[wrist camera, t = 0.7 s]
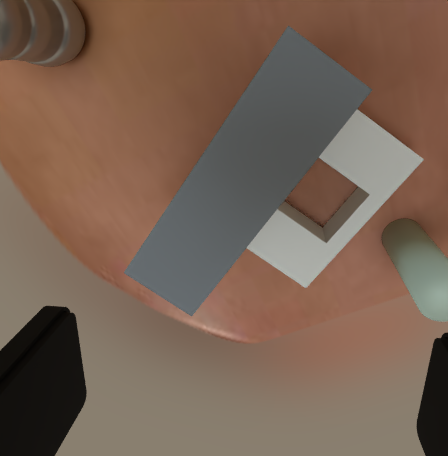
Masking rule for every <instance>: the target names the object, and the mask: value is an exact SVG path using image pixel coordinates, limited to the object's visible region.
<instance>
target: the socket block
mask: <svg viewBox="0 0 448 456" xmlns="http://www.w3.org/2000/svg"><path fill="white" fill-rule="evenodd" d="M371 91H372V89H370V88H369V87H368V86H367V85H365V84H364V83H363V82H361V81H360V80H359V79H357V78H356V77H355V76H353V75H352V74H351V73H350V72H348V71H347V70H346V69H344V68H343V67H342V66H340V65H339V64H338V63H337V62H335V61H334V60H333V59H331V58H330V57H329V56H327V55H326V54H325V53H323V52H322V51H321V50H320V49H318V48H317V47H316V46H314V45H313V44H312V43H310V42H309V41H308V40H306V39H305V38H304V37H303V36H301V35H300V34H299V33H297V32H296V31H295V30H293V29H292V28H291V27H289V26H288V27H287V28H286V30H285V31H284V33H283V34H282V36H281V37H280V39H279V40H278V42H277V43H276V45H275V46H274V48H273V49H272V51H271V52H270V54H269V55H268V57H267V58H266V60H265V61H264V63H263V64H262V66H261V67H260V69H259V70H258V72H257V73H256V75H255V76H254V78H253V79H252V81H251V82H250V84H249V85H248V87H247V88H246V90H245V91H244V93H243V94H242V96H241V97H240V99H239V100H238V102H237V103H236V105H235V106H234V108H233V109H232V111H231V112H230V114H229V115H228V117H227V118H226V120H225V121H224V123H223V124H222V126H221V127H220V129H219V130H218V132H217V133H216V135H215V136H214V138H213V139H212V141H211V143H210V144H209V146H208V147H207V149H206V150H205V152H204V153H203V155H202V156H201V158H200V159H199V161H198V162H197V164H196V165H195V167H194V168H193V170H192V171H191V173H190V174H189V176H188V177H187V179H186V180H185V182H184V183H183V185H182V186H181V188H180V189H179V191H178V192H177V194H176V195H175V197H174V198H173V200H172V201H171V203H170V204H169V206H168V207H167V209H166V210H165V212H164V213H163V215H162V216H161V218H160V219H159V221H158V222H157V224H156V225H155V227H154V228H153V230H152V231H151V233H150V234H149V236H148V237H147V239H146V240H145V242H144V243H143V245H142V246H141V248H140V249H139V251H138V252H137V254H136V255H135V257H134V258H133V260H132V261H131V263H130V264H129V266H128V267H127V269H126V270H125V272H124V273H125V274H126V275H128V276H130V277H131V278H133V279H134V280H136V281H137V282H139V283H140V284H142V285H144V286H145V287H147V288H148V289H150V290H151V291H153V292H154V293H156V294H158V295H159V296H161V297H162V298H164V299H165V300H167V301H168V302H170V303H172V304H173V305H175V306H176V307H178V308H179V309H181V310H182V311H184V312H186V313H187V314H189V315H190V316H192V315H193V314H194V313H195V312H196V310H197V309H198V308H199V307H200V305H201V304H202V303H203V302H204V300H205V299H206V298H207V297H208V295H209V294H210V293H211V292H212V290H213V289H214V288H215V287H216V285H217V284H218V283H219V282H220V280H221V279H222V278H223V277H224V275H225V274H226V273H227V272H228V270H229V269H230V268H231V267H232V265H233V264H234V263H235V262H236V260H237V259H238V258H239V256H240V255H241V254H242V253H243V251H244V250H245V249H246V248H247V249H249V250H250V251H252V252H253V253H255V254H256V255H258V256H259V257H261V258H262V259H264V260H265V261H267V262H268V263H269V264H271V265H272V266H274V267H275V268H277V269H278V270H280V271H281V272H283V273H284V274H286V275H287V276H289V277H290V278H292V279H293V280H295V281H296V282H298V283H299V284H300V285H302V286H303V287H305V288H306V287H307V286H308V285H309V284H310V283H311V282H312V281H313V280H314V279H315V278H316V277H317V275H318V274H319V273H320V272H321V271H322V270H323V269H324V268H325V267H326V266H327V265H328V263H329V262H330V261H331V260H332V259H333V258H334V257H335V256H336V255H337V254H338V253H339V252H340V250H341V249H342V248H343V247H344V246H345V245H346V244H347V243H348V242H349V241H350V240H351V238H352V237H353V236H354V235H355V234H356V233H357V232H358V231H359V230H360V229H361V228H362V226H363V225H364V224H365V223H366V222H367V221H368V220H369V219H370V218H371V217H372V216H373V214H374V213H375V212H376V211H377V210H378V209H379V208H380V207H381V206H382V205H383V204H384V202H385V201H386V200H387V199H388V198H389V197H390V196H391V195H392V194H393V193H394V192H395V190H396V189H397V188H398V187H399V186H400V185H401V184H402V183H403V182H404V181H405V180H406V179H407V177H408V176H409V175H410V174H411V173H412V172H413V171H414V170H415V169H416V168H417V167H418V165H419V164H420V163H421V162H422V161H423V160H424V159H423V158H421V157H420V156H419V155H417V154H416V153H415V152H413V151H412V150H411V149H409V148H408V147H407V146H405V145H404V144H403V143H401V142H400V141H399V140H397V139H396V138H395V137H393V136H392V135H391V134H389V133H388V132H387V131H385V130H384V129H383V128H381V127H380V126H379V125H378V124H376V123H375V122H374V121H372V120H371V119H370V118H368V117H367V116H366V115H364V114H363V113H362V112H360V111H359V110H358V107H359V106H360V105H361V104H362V102H363V101H364V100H365V99H366V97H367V96H368V95H369V94H370V92H371ZM318 157H319V158H320V159H322V160H323V161H324V162H326V163H327V164H328V165H330V166H331V167H333V168H334V169H335V170H337V171H338V172H339V173H341V174H342V175H344V176H345V177H346V178H348V179H349V180H350V181H352V182H353V183H355V184H356V185H357V186H358V188H357V189H356V190H355V191H354V192H353V193H352V194H351V196H350V197H349V198H348V199H347V200H346V201H345V202H344V204H343V205H342V206H341V207H340V208H339V209H338V210H337V212H336V213H335V214H334V215H333V216H332V217H331V219H330V220H329V221H328V222H327V223H326V224H325V225H324V227H323V228H322V227H321V226H319V225H318V224H316V223H315V222H314V221H312V220H311V219H309V218H308V217H306V216H305V215H304V214H302V213H301V212H299V211H298V210H297V209H295V208H294V207H292V206H291V205H289V204H288V203H287V202H285V201H284V200H285V199H286V198H287V196H288V195H289V194H290V193H291V191H292V190H293V189H294V188H295V186H296V185H297V184H298V183H299V181H300V180H301V179H302V178H303V176H304V175H305V174H306V173H307V171H308V170H309V169H310V167H311V166H312V165H313V164H314V162H315V161H316V160H317V159H318Z"/></svg>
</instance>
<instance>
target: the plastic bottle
mask: <svg viewBox="0 0 448 456" xmlns="http://www.w3.org/2000/svg"><path fill="white" fill-rule="evenodd" d="M84 41H85V24H84V20H83V17H82V15H81V12H80V11H79V9H78V8H77V6H76V5H75V4H74V3H73V2H72V0H0V61H2V60H19V61H26V62H29V63H32V64H36V65H40V66H45V67H54V66H59V65H61V64H64V63H66V62H68V61H71V60H72V59H73V58H75V57H76V56H77V55H78V53H79V52H80V50H81V49H82V47H83V44H84Z"/></svg>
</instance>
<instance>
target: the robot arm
mask: <svg viewBox="0 0 448 456" xmlns="http://www.w3.org/2000/svg"><path fill="white" fill-rule="evenodd" d="M85 400H86V385H85V378H84V371H83V364H82V358H81V351H80V344H79V337H78V330H77V323H76V317H75V314H74V313H70V310H69V309H68V308H67V307H57V306H45V307H43V308H42V309H41V310H40V311H39V312H38V313H37V314H36V315H35V316H34V317H33V318H32V319H31V320H30V321H29V322H28V323H27V324H26V325H25V326H24V327H23V328H22V329H21V330H20V331H19V332H18V333H17V334H16V335H15V336H14V338H13V339H11V340H10V341H9V343H7V345H6V346H4V347H3V348H2V349H1V351H0V456H55V454H56V452H57V451H58V449H59V447H60V445H61V443H62V442H63V440H64V438H65V437H66V435H67V433H68V432H69V430H70V428H71V426H72V424H73V423H74V421H75V419H76V418H77V416H78V414H79V413H80V411H81V409H82V407H83V405H84V403H85ZM417 433H418V437H419V440H420V442H421V445H422V448H423V450H424V453H425V455H426V456H448V333H444V334H443V335H442V337H441V338H436V339H435V341H434V344H433V348H432V353H431V358H430V362H429V367H428V372H427V377H426V381H425V386H424V391H423V395H422V400H421V405H420V409H419V414H418V419H417Z"/></svg>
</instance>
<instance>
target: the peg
mask: <svg viewBox="0 0 448 456" xmlns="http://www.w3.org/2000/svg"><path fill="white" fill-rule="evenodd" d="M382 243H383V246H384V247H385V249H386V251H387V253H388V255H389V256H390V258H391V260H392V262H393V264H394V265H395V267H396V269H397V271H398V273H399V274H400V276H401V278H402V280H403V282H404V283H405V285H406V287H407V289H408V291H409V292H410V294H411V296H412V298H413V299H414V301H415V303H416V305H417V307H418V308H419V310H420V312H421V313H422V314H423V315H424V316H425V317H427V318H429V319H432V320H435V321H448V258H447V257H446V256H445V255H444V254H443V253H442V251H441V250H440V249H439V248H438V247H437V245H436V244H435V243H434V242H433V241H432V239H431V238H430V237H429V236H428V235H427V234H426V232H425V231H424V230H423V229H422V228H421V226H420V225H419V224H418V223H417V222H415V221H413V220H411V219H398V220H395V221H393V222H391V223H390V224H388V225H387V226H386V228H385V229H384V231H383V233H382Z"/></svg>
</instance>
